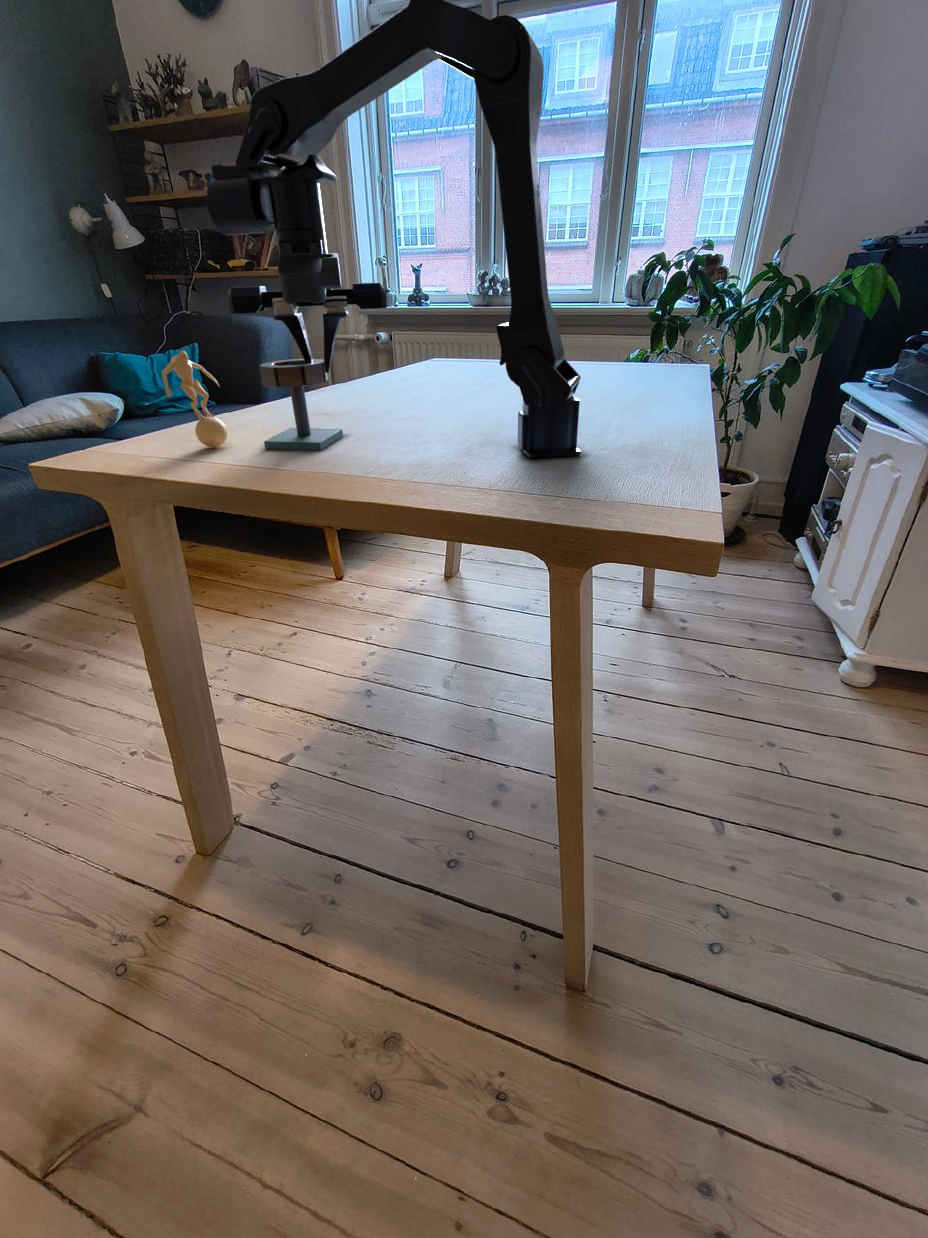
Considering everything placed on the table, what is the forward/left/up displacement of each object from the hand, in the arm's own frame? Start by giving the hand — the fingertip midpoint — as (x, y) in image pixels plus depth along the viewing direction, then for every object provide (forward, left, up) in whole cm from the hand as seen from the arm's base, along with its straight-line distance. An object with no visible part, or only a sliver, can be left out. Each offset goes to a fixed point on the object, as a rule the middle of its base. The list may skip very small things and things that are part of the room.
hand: (320, 372), depth 78 cm
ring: (+3, 0, -1) cm, 3 cm away
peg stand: (+3, 0, -9) cm, 9 cm away
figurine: (+16, -1, -9) cm, 19 cm away
